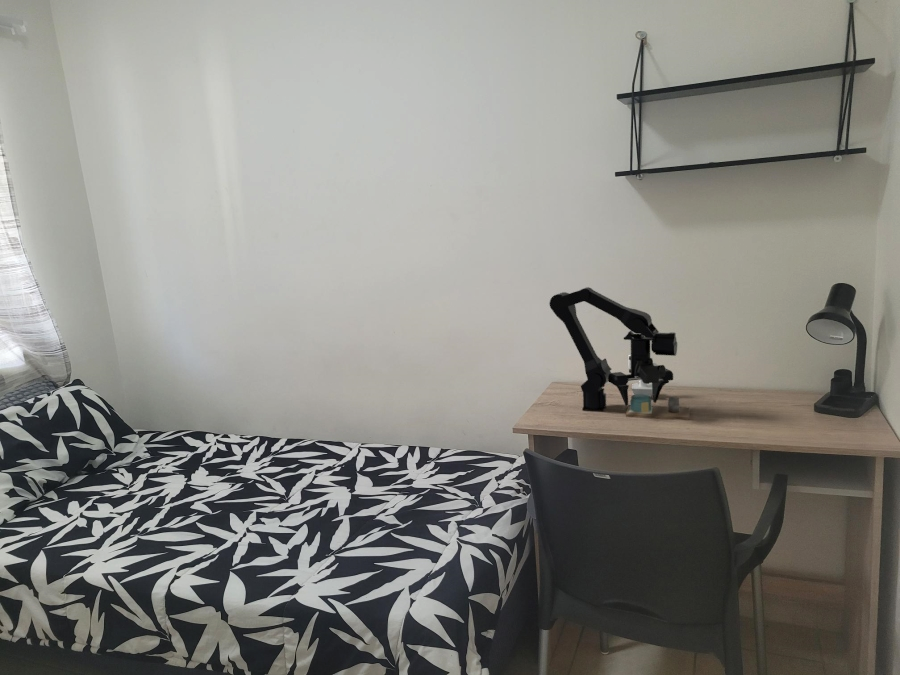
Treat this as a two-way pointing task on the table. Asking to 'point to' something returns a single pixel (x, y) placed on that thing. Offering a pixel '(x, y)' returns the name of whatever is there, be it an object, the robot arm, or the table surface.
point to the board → (663, 411)
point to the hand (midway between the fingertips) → (640, 403)
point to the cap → (640, 403)
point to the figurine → (641, 384)
